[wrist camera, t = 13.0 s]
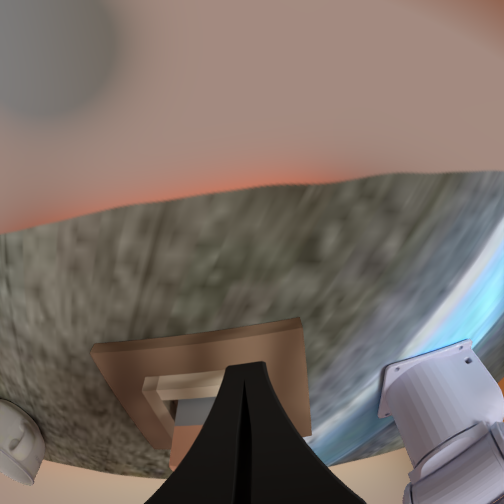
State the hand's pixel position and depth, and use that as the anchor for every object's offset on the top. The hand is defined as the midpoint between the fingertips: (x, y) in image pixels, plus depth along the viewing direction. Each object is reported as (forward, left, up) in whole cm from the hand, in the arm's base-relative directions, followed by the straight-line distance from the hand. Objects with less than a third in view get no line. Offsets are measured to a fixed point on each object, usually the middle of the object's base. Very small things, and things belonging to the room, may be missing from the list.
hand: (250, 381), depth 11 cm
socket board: (+5, +12, -10) cm, 16 cm away
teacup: (+31, +16, -10) cm, 36 cm away
